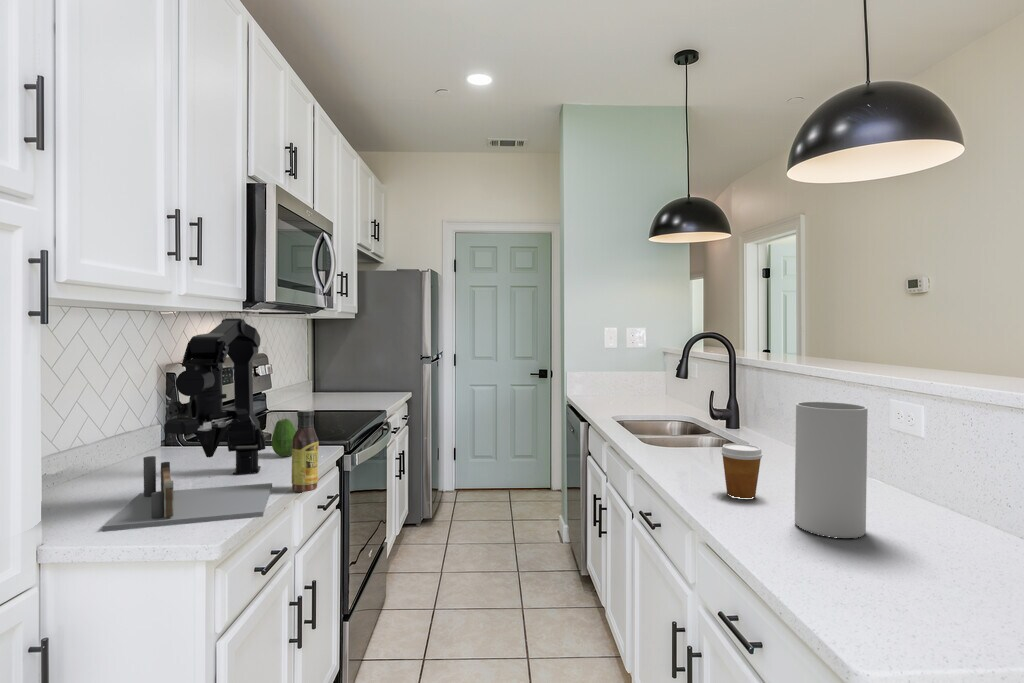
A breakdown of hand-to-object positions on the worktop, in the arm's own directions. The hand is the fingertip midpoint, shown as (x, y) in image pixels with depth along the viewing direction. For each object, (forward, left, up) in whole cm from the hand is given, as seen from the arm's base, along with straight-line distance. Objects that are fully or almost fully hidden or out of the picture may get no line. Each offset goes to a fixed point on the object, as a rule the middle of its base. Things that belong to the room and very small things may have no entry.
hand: (209, 457), depth 130 cm
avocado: (-44, +14, -11) cm, 48 cm away
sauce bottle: (-3, +21, -11) cm, 24 cm away
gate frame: (+4, -2, -10) cm, 11 cm away
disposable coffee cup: (+36, +121, -11) cm, 126 cm away
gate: (+4, -8, -9) cm, 12 cm away
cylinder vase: (+60, +122, -11) cm, 136 cm away
